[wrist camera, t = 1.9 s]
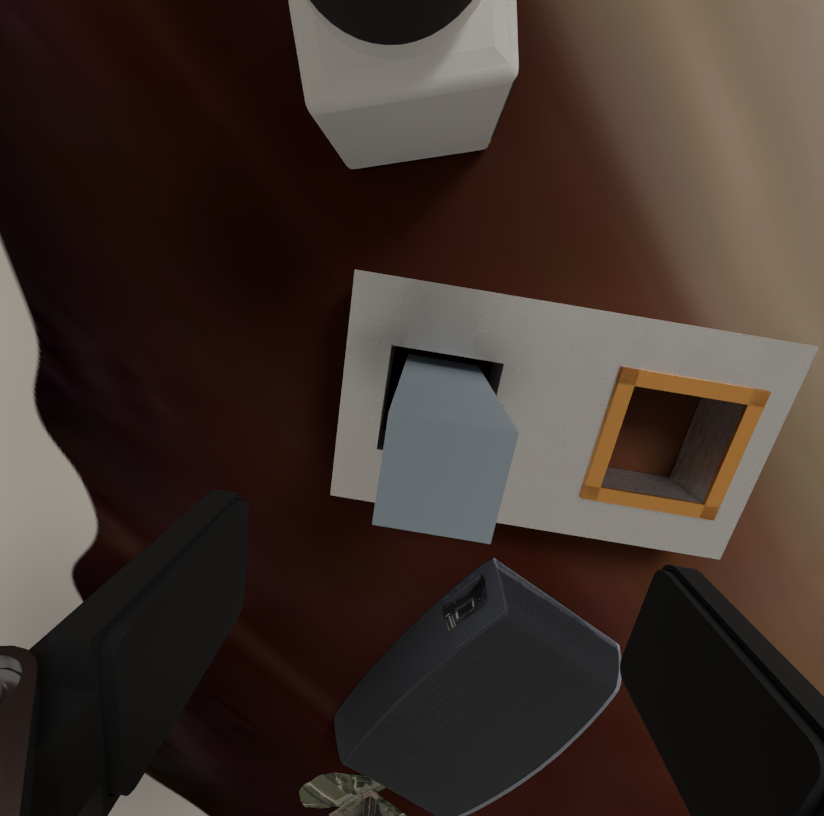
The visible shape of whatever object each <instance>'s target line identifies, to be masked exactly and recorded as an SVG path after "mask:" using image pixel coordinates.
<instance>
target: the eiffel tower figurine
mask: <svg viewBox="0 0 824 816" xmlns="http://www.w3.org/2000/svg"><path fill="white" fill-rule="evenodd" d="M384 788H385V787H384V786H383V785H381V784H379V783H377V782H376V781H374V780H372V779H370V778H368V777H366V776H362V775H352V774H343V773H334V772H333V773H329V774H325V775H320V776H318V777H316V778H315V779H313V780H312V781H311V782H309V783H307V784H305V785H303V786H302V788H301V789H300V791H299V794H300V797H301V799H300V801H301V802H302V803H303V805H304V806H305V807H314V808H321V809H322V808H327V807H335V806H341V807H340V808H338V809H337V810H335V811H333V812H332V813H330V814H328V815H329V816H406V815H405V814H404V813H402V812H401V811H400V810H398V809H397V808H396V807H394V806H393V805H392V804H390V803H389V802H388V801H386V800H385V799H384V798H382V797H381V796H379V795H378V794H377V792H379V791H380V790H382V789H384Z"/></svg>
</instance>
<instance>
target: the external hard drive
mask: <svg viewBox="0 0 824 816" xmlns="http://www.w3.org/2000/svg"><path fill="white" fill-rule="evenodd" d="M620 662H621V653H620V646H619V645H618V644H617V643H616V642H615V641H614V640H612V639H611V638H610V637H608V636H607V635H605V634H604V633H602V632H601V631H599V630H598V629H596V628H595V627H593V626H592V625H591V624H589V623H588V622H586V621H585V620H583V619H582V618H581V617H579V616H578V615H576V614H575V613H573V612H572V611H570V610H569V609H568V608H566V607H565V606H563V605H562V604H560V603H559V602H557V601H556V600H555V599H553V598H552V597H550V596H549V595H547V594H546V593H544V592H543V591H541V590H540V589H539V588H537V587H536V586H534V585H533V584H531V583H530V582H528V581H527V580H525V579H524V578H523V577H521V576H520V575H518V574H517V573H515V572H514V571H512V570H511V569H510V568H508V567H507V566H505V565H504V564H502V563H501V562H499V561H498V560H497V559H495V558H491V560H489V561H487V562H485V563H483V564H482V565H481V566H480V567H478V568H477V569H475V570H474V571H473V572H472V573H470V574H469V575H468V576H467V577H465V578H464V579H463V580H462V581H461V582H459V583H458V584H457V585H456V586H455V587H454V588H453V589H451V590H450V591H449V592H448V593H446V594H445V595H444V596H443V597H442V598H441V599H440V600H439V601H437V602H436V603H435V604H434V605H433V606H432V607H431V608H430V609H429V610H428V611H427V612H425V613H424V614H423V615H422V616H421V617H420V618H419V619H418V620H417V621H416V622H415V623H414V624H413V625H412V626H411V627H410V628H409V629H408V630H407V631H406V632H405V633H404V634H403V635H402V636H401V637H400V638H399V639H398V640H397V641H396V642H395V643H394V644H393V645H392V646H391V647H390V648H389V649H388V650H387V651H386V652H385V654H384V655H383V656H382V657H381V658H380V659H379V660H378V661H377V662H376V663H375V665H374V666H373V667H372V668H371V669H370V670H369V671H368V673H367V674H366V675H365V676H364V677H363V679H362V680H361V681H360V682H359V683H358V685H357V686H356V687H355V688H354V690H353V691H352V692H351V693H350V695H349V696H348V697H347V699H346V700H345V702H344V703H343V704H342V706H341V707H340V708H339V710H338V711H337V713H336V715H335V716H334V725H335V735H336V742H337V747H338V752H339V756H340V760H341V762H342V764H344V765H345V766H347V767H349V768H351V769H353V770H355V771H357V772H359V773H361V774H362V775H365V776H366V777H368V778H370V779H372V780H374V781H376V782H377V783H379V784H381V785H383V786H384V787H386V788H388V789H390V790H392V791H393V792H395V793H397V794H399V795H401V796H402V797H404V798H406V799H408V800H409V801H411V802H413V803H415V804H416V805H418V806H420V807H422V808H423V809H425V810H427V811H429V812H430V813H432V814H434V815H436V816H467V815H469V814H471V813H473V812H475V811H477V810H479V809H481V808H483V807H484V806H486V805H488V804H490V803H492V802H493V801H495V800H497V799H498V798H500V797H502V796H503V795H505V794H506V793H508V792H510V791H511V790H513V789H514V788H516V787H517V786H519V785H520V784H522V783H523V782H524V781H526V780H527V779H529V778H530V777H532V776H533V775H534V774H536V773H537V772H538V771H540V770H541V769H542V768H544V767H545V766H546V765H547V764H548V763H550V762H551V761H552V760H553V759H555V758H556V757H557V756H558V755H559V754H561V753H562V752H563V751H564V750H565V749H566V748H567V747H568V746H569V745H570V744H571V743H572V742H573V741H574V740H575V739H576V738H578V737H579V736H580V734H581V733H582V732H583V731H584V730H585V729H586V728H587V727H588V726H589V725H590V724H591V723H592V722H593V721H594V720H595V719H596V718H597V717H598V716H599V714H600V713H601V712H602V711H603V710H604V709H605V707H606V706H607V705H608V704H609V703H610V701H611V700H612V699H613V698H614V696H615V695H616V694H617V692H618V690H619V687H620V684H621V673H620Z"/></svg>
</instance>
